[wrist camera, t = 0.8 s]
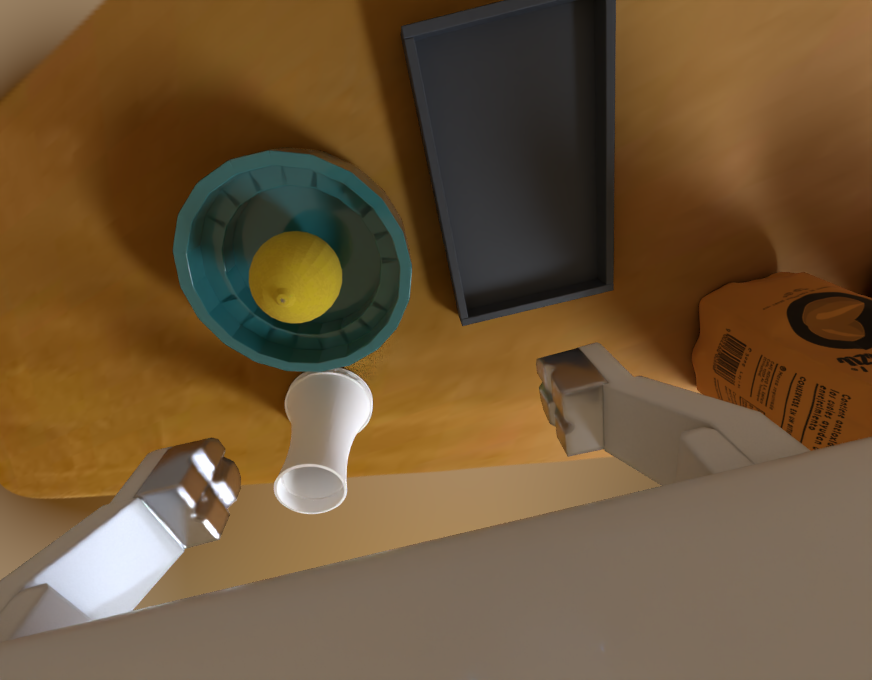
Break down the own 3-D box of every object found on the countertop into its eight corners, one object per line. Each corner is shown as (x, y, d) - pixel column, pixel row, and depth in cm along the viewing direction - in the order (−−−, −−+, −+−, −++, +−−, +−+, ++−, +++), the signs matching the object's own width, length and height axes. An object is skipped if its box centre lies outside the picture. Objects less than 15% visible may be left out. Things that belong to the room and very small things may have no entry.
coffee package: (806, 254, 33) (1373, 430, 14) (780, 372, 39) (1153, 608, 20) (690, 286, 34) (1088, 499, 14) (682, 398, 40) (956, 654, 20)
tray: (400, 33, 24) (401, 26, 22) (599, -17, 23) (616, -28, 22) (458, 315, 33) (462, 326, 31) (601, 281, 33) (613, 290, 31)
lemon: (254, 236, 28) (208, 273, 21) (326, 208, 27) (304, 236, 20) (293, 303, 30) (264, 356, 23) (360, 279, 30) (350, 325, 23)
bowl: (163, 177, 26) (122, 185, 22) (378, 124, 26) (375, 123, 22) (257, 360, 33) (239, 391, 29) (427, 319, 33) (432, 346, 29)
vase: (308, 441, 38) (283, 537, 29) (272, 379, 34) (230, 467, 25) (383, 420, 37) (381, 510, 29) (355, 355, 34) (342, 435, 25)
